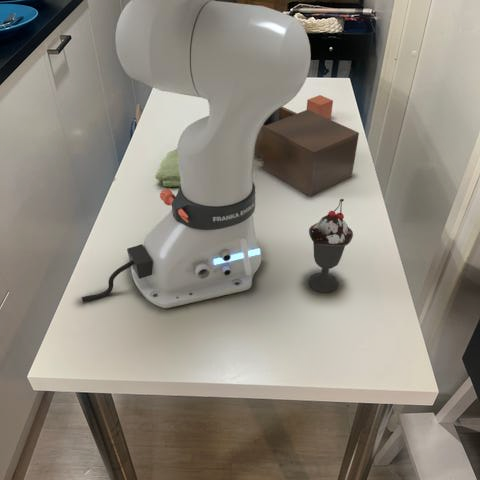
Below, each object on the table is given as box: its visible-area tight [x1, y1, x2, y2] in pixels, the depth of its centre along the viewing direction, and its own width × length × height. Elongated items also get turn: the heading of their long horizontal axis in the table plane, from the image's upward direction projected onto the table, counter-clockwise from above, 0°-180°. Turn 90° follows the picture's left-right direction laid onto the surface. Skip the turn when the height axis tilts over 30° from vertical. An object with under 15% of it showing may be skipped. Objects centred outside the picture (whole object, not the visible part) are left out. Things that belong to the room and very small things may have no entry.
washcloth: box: [155, 148, 181, 188], centre depth 106 cm, size 13×18×3 cm
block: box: [306, 94, 334, 120], centre depth 125 cm, size 4×4×4 cm
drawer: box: [254, 106, 297, 160], centre depth 110 cm, size 18×11×8 cm, turn 39°
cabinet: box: [262, 109, 360, 197], centre depth 104 cm, size 15×13×10 cm
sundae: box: [308, 198, 354, 293], centre depth 77 cm, size 7×7×15 cm
